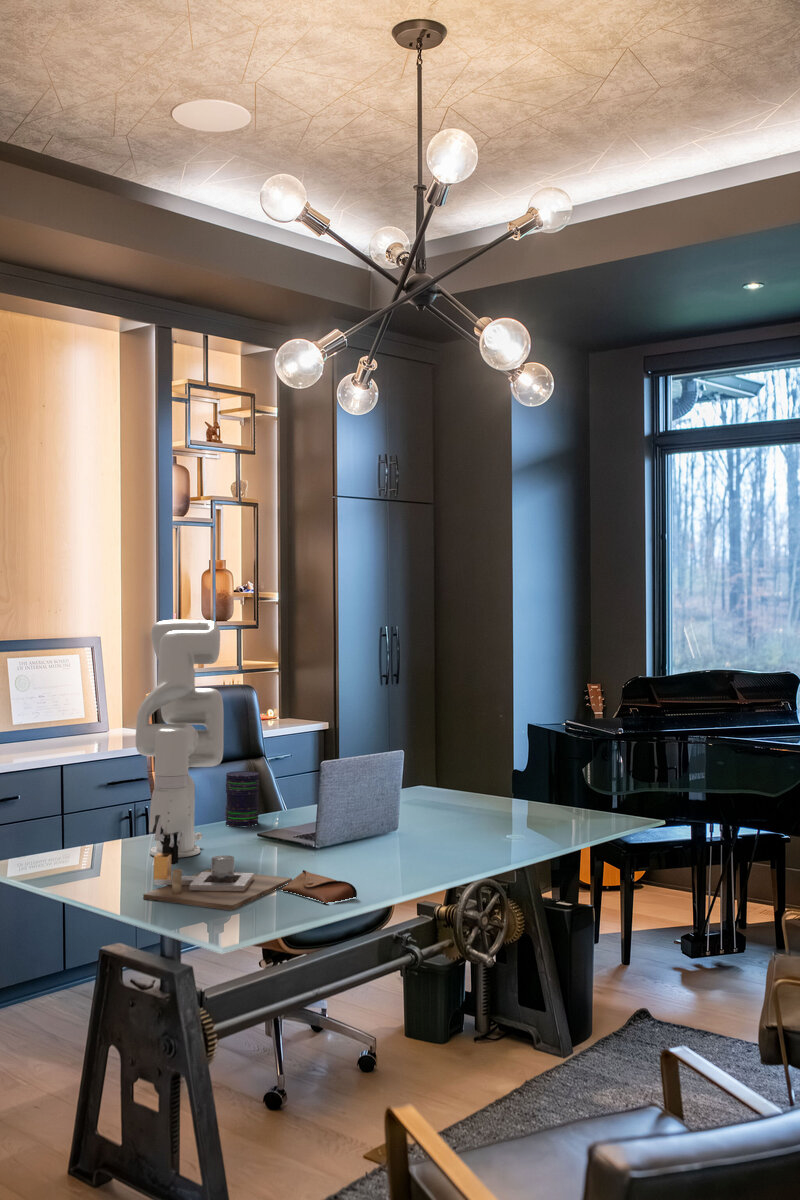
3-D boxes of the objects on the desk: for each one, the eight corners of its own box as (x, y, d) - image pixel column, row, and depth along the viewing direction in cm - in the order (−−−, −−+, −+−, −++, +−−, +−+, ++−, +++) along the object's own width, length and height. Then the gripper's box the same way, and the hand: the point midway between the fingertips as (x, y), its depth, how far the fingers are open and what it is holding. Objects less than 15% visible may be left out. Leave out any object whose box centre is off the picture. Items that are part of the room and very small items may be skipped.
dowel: (175, 891, 230) (175, 868, 230) (183, 892, 229) (183, 869, 229) (170, 893, 228) (170, 870, 228) (178, 894, 227) (178, 871, 227)
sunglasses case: (274, 889, 236) (287, 861, 238) (295, 901, 240) (307, 873, 243) (328, 905, 223) (340, 875, 226) (349, 917, 227) (361, 887, 230)
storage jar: (228, 820, 319) (229, 770, 319) (261, 821, 319) (261, 771, 319) (221, 827, 309) (222, 775, 309) (255, 827, 309) (256, 776, 309)
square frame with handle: (254, 878, 242) (254, 850, 242) (244, 891, 230) (244, 862, 230) (162, 876, 243) (163, 849, 243) (148, 889, 231) (148, 860, 231)
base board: (209, 873, 251) (209, 869, 252) (291, 882, 243) (291, 878, 243) (143, 898, 227) (143, 894, 228) (231, 910, 219) (231, 905, 219)
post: (218, 881, 239) (219, 854, 240) (238, 883, 238) (238, 856, 238) (206, 886, 235) (207, 859, 235) (226, 888, 233) (226, 861, 233)
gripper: (175, 777, 250) (174, 855, 249) (137, 785, 236) (136, 868, 235) (203, 779, 247) (202, 858, 246) (166, 788, 233) (165, 872, 233)
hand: (170, 863), depth 241 cm, fingers closed
